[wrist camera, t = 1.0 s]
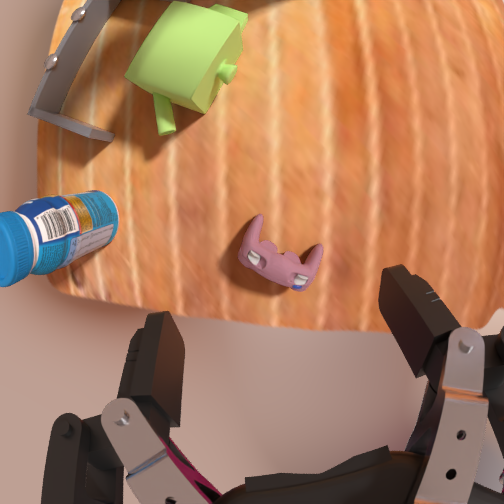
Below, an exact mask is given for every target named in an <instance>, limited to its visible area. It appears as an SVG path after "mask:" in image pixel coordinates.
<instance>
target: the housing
mask: <svg viewBox="0 0 504 504" xmlns="http://www.w3.org/2000/svg"><path fill="white" fill-rule="evenodd" d="M120 1H121V0H87V1H86V3H85V4H84V6H83V7H80V8H78V9H76V10H75V11H74V12H73V14H72V16H71V19H72V20H73V22H72V24H71V26H70V27H69V29H68V31H67V32H66V34H65V36H64V37H63V39H62V41H61V43H60V44H59V46H58V48H57V50H56V52H55V54H51V55H49V56H48V58H47V59H46V61H45V63H44V67H45V68H46V71H45V74H44V76H43V78H42V80H41V82H40V85H39V87H38V89H37V92H36V94H35V96H34V99H33V101H32V104H31V107H30V109H29V112H28V115H30V116H33V117H36V118H38V119H41V120H44V121H46V122H49V123H52V124H54V125H57V126H60V127H62V128H65V129H67V130H70V131H72V132H75V133H77V134H80V135H83V136H85V137H88V138H92V139H98V140H103V141H109V142H112V141H113V138H114V136H115V134H114V133H111V132H109V131H106V130H103V129H101V128H98V127H95V126H93V125H90V124H87V123H84V122H82V121H79V120H76V119H73V118H71V117H68V116H65V115H62V114H59V112H60V109H61V107H62V104H63V102H64V100H65V97H66V95H67V93H68V91H69V89H70V86H71V84H72V82H73V80H74V78H75V76H76V74H77V72H78V70H79V68H80V66H81V64H82V62H83V60H84V58H85V57H86V55H87V53H88V51H89V49H90V48H91V46H92V44H93V42H94V41H95V39H96V37H97V36H98V34H99V33H100V31H101V29H102V28H103V26H104V25H105V23H106V22H107V20H108V18H109V17H110V15H111V14H112V13H113V11H114V10H115V8H116V7H117V5H118V4H119V3H120ZM162 1H169V2H173V1H179V2H185V3H189V2H190V1H191V0H162Z"/></svg>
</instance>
